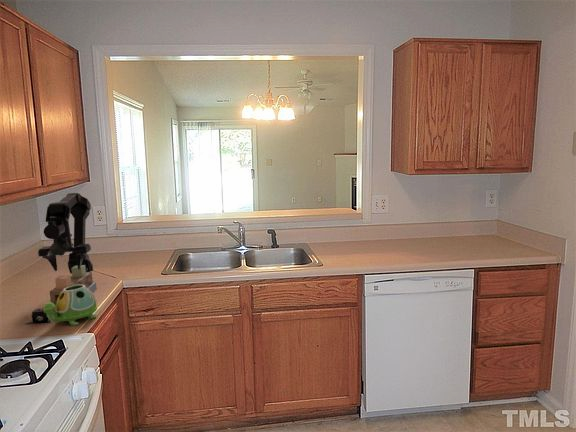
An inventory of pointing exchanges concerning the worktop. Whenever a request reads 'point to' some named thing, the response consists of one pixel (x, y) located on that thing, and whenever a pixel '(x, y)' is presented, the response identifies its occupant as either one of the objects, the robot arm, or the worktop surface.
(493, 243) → the worktop surface
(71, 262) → the robot arm
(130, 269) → the worktop surface
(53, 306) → the turtle holder
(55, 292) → the pallet
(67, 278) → the salmon brown cube
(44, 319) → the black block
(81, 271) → the block
